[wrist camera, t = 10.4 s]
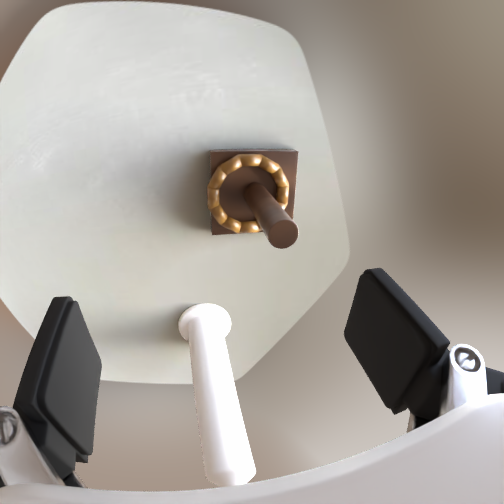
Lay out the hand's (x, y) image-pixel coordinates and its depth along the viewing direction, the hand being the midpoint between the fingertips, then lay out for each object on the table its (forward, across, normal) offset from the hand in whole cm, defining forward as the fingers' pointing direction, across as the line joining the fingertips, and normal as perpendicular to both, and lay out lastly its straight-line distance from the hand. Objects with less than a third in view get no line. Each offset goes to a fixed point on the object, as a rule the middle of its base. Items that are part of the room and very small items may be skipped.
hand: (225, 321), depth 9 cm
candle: (+23, 0, +21) cm, 32 cm away
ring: (+22, -5, +3) cm, 22 cm away
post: (+23, -6, +3) cm, 24 cm away
